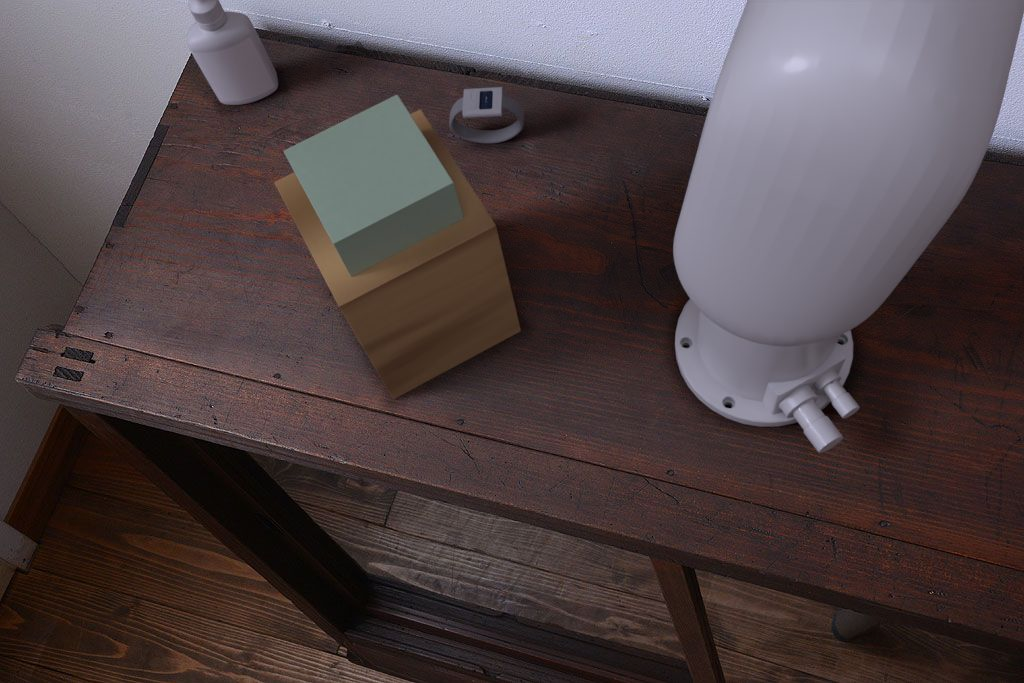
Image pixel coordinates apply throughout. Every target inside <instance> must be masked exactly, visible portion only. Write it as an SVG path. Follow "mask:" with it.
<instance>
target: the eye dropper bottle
mask: <svg viewBox="0 0 1024 683" xmlns="http://www.w3.org/2000/svg"><path fill="white" fill-rule="evenodd" d="M188 9H189V11H190V13H191V15H192V16H193V19H194V20H195V22H194V23H193V24H192V25H191V26H190V27H188V29H187V31H186V42H187V46H188V50H189V52H190V53H191V54H192V57H193V58H194V60H195V62H196V64H197V65H198V67H199V69H200V70H201V72H202V74H203V76H204V77H205V79H206V81H207V83H208V85H209V86H210V88H211V90H212V92H214V94H215V96H216V98H217V99H218V101H219V102H220V103H221V104H223V105H225V106H226V105H227V106H239V105H247V104H251V103H255V102H258V101H261V100H263V99H264V98H266V97H269V96H270V95H272V94H273V93H274V92H276V91H277V90H278V88H279V78H278V74H277V73H278V72H277V71H276V68H275V66H274V64H273V63H272V60H271V58H270V56H269V54H268V52H267V50H266V48H265V46H264V44H263V42H262V40H261V37H260V36H259V34H258V32H257V30H256V28H255V26H254V24H253V22H252V20H251V19H250V18H249V16H248V15H246V14H244V13H242V12H236V11H227V10H226V11H225V10H224V8H223V7H222V4H221V2H220V0H189V3H188Z"/></svg>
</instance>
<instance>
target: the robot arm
mask: <svg viewBox="0 0 1024 683" xmlns="http://www.w3.org/2000/svg"><path fill="white" fill-rule="evenodd" d="M1023 18H1024V0H746V3H745V5H744V8H743V11H742V13H741V15H740V18H739V20H738V21H739V22H738V24H737V27H736V29H735V31H734V34H733V37H732V39H731V42H730V45H729V47H728V50H727V52H726V55H725V58H724V61H723V64H722V67H721V70H720V72H719V75H718V78H717V82H716V84H715V88H714V91H713V93H712V94H713V95H712V97H711V101H710V104H709V106H708V110H707V113H706V117H705V121H704V124H703V126H702V127H703V128H702V131H701V135H700V138H699V143H698V147H697V151H696V154H695V157H694V162H693V165H692V169H691V172H690V176H689V180H688V183H687V187H686V191H685V194H684V198H683V203H682V206H681V209H680V213H679V216H678V221H677V224H676V227H675V232H674V236H673V245H672V249H673V250H672V254H673V255H672V256H673V263H674V266H675V271H676V274H677V277H678V280H679V282H680V285H681V286H682V289H683V290H684V291H685V293H686V295H687V296H688V300H687V302H686V303H685V304H684V306H683V307H682V311H681V312H680V314H679V317H678V320H677V324H676V329H675V336H674V351H675V352H674V353H675V360H676V363H677V366H678V369H679V372H680V375H681V377H682V379H683V380H684V382H685V383H686V386H687V387H688V389H689V390H690V391H691V392H692V393H693V394H694V396H695V397H696V398H697V399H698V400H699V401H700V402H701V403H703V405H705V406H706V407H707V408H709V409H710V410H711V411H713V412H714V413H715V414H716V413H717V414H718V415H720V416H722V417H723V418H726V419H728V420H731V421H733V422H736V423H739V424H742V425H748V426H753V427H759V428H760V427H762V428H764V427H766V428H768V427H769V428H770V427H771V428H772V427H773V428H774V427H783V426H788V425H793V424H796V423H797V424H799V426H800V428H801V429H802V430H803V434H804V435H805V436H806V438H807V439H808V441H809V442H810V444H811V445H812V446H813V448H814V449H815V450H816V452H818V454H823V453H825V452H827V451H829V450H831V449H833V448H834V447H836V446H837V445H838V444H839V443H840V442H841V441H842V440H843V439H844V436H843V435H842V433H841V432H840V430H839V429H838V428H837V427H836V425H835V424H834V423H833V421H832V420H831V419H830V417H829V416H828V415H825V413H824V412H823V410H824V409H825V408H826V407H827V406H828V405H830V404H831V406H832V407H833V408H834V409H835V411H836V412H837V413H838V415H839V416H840V417H841V419H842V420H845V419H847V418H850V417H851V416H853V415H854V414H856V413H857V412H858V411H859V410H860V408H861V406H860V405H859V404H858V402H857V401H856V400H855V399H854V397H853V395H851V393H850V392H849V391H848V392H847V390H846V389H845V388H844V385H845V383H846V380H847V378H848V376H849V374H850V371H851V367H852V364H853V360H854V340H853V334H852V330H853V329H855V328H856V327H858V326H859V325H861V324H862V323H863V322H865V321H866V320H868V319H869V318H870V317H871V316H872V315H873V314H874V313H875V312H876V311H877V310H878V309H879V308H880V307H881V306H882V305H883V303H884V302H885V301H886V300H887V299H888V298H889V296H890V295H891V294H892V293H893V291H894V290H895V289H896V287H897V286H898V285H899V284H900V282H901V281H902V280H903V279H904V277H905V276H906V275H907V274H908V272H910V270H911V269H912V267H913V266H914V265H915V263H916V262H917V261H918V259H919V258H920V257H921V255H922V254H923V253H924V252H925V250H926V249H927V248H928V246H929V245H930V244H931V242H932V241H933V240H934V238H935V237H936V236H937V235H938V234H939V232H940V231H941V229H942V228H943V227H944V226H945V224H946V223H947V222H948V220H949V219H950V217H951V216H952V214H953V213H954V212H955V210H956V209H957V208H958V206H959V205H960V203H961V202H962V200H963V199H964V197H965V196H966V194H967V192H968V190H969V189H970V187H971V185H972V184H973V181H974V179H975V177H976V175H977V173H978V172H979V169H980V168H981V165H982V162H983V160H984V157H985V156H986V153H987V150H988V149H989V145H990V143H991V140H992V137H993V135H994V132H995V128H996V126H997V122H998V119H999V116H1000V113H1001V110H1002V109H1001V108H1002V105H1003V101H1004V97H1005V94H1006V90H1007V84H1008V81H1009V76H1010V72H1011V68H1012V64H1013V60H1014V56H1015V51H1016V47H1017V43H1018V39H1019V34H1020V30H1021V26H1022V22H1023ZM684 346H687V347H684ZM726 405H729V406H730V408H729V407H726Z"/></svg>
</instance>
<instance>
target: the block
mask: <svg viewBox="0 0 1024 683" xmlns="http://www.w3.org/2000/svg"><path fill="white" fill-rule="evenodd" d="M410 114H411V113H410V112H409V110H408V109H407V107H406V105H405V104H404V102H403V100H402V98H400V96H399V95H398V94H394V95H393V96H391V97H389V98H387V99H385V100H383V101H381V102H378V103H377V104H375V105H372V106H370V107H369V108H366V109H365V110H363V111H361V112H359V113H357V114H355V115H352V116H351V117H349V118H347V119H345V120H343V121H340V122H338V123H337V124H334V125H332V126H330V127H328V128H326V129H324V130H322V131H320V132H318V133H316V134H314V135H312V136H310V137H308V138H306V139H304V140H302V141H300V142H298V143H296V144H294V145H292V146H290V147H288V148H285V149H283V153H284V155H285V157H286V159H287V161H288V163H289V164H290V166H291V169H292V171H293V173H294V172H295V174H296V176H297V178H298V180H299V182H300V183H301V185H302V187H303V189H304V191H305V193H306V195H307V196H308V198H309V200H310V202H311V204H312V206H313V208H314V209H315V211H316V213H317V215H318V217H319V219H320V221H321V223H322V224H323V226H324V228H325V230H326V232H327V234H328V236H329V237H330V239H331V241H332V243H333V245H334V247H335V249H336V250H337V252H338V254H339V256H340V258H341V260H342V262H343V263H344V265H345V267H346V269H347V271H348V273H349V275H350V276H351V277H352V276H354V275H356V274H358V273H360V272H362V271H364V270H366V269H368V268H370V267H372V266H374V265H376V264H377V263H379V262H381V261H383V260H385V259H387V258H389V257H391V256H393V255H395V254H397V253H399V252H401V251H403V250H405V249H407V248H408V247H410V246H412V245H414V244H416V243H418V242H420V241H422V240H424V239H426V238H428V237H430V236H432V235H434V234H436V233H437V232H439V231H441V230H443V229H445V228H447V227H449V226H451V225H453V224H455V223H457V222H459V221H461V220H463V219H464V217H463V214H462V210H461V207H460V203H459V200H458V196H457V193H456V189H455V186H454V182H453V181H452V179H451V178H450V176H449V174H448V173H447V171H446V170H445V168H444V167H443V165H442V163H441V162H440V160H439V159H438V157H437V156H436V154H435V152H434V151H433V149H432V148H431V146H430V145H429V143H428V141H427V140H426V138H425V137H424V135H423V134H422V132H421V130H420V129H419V127H418V126H417V124H416V123H415V121H414V119H413V118H412V116H411V115H410Z"/></svg>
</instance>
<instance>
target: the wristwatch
mask: <svg viewBox="0 0 1024 683" xmlns="http://www.w3.org/2000/svg"><path fill="white" fill-rule="evenodd" d="M504 110H506V111H507V112H509V113H511V115H513V116H514V117H515V118H516V121H515V122H514V123H512V124H511V125H508V126H506V127H503V128H500V129H491V130H490V129H489V130H486V129H477V128H472V127H469V126H465V125H463V124H462V123H460V122H459V120H457V119H456V118H457V117H458V116H459V115H460V113H462V119H479V118H480V119H481V118H497V117H503V111H504ZM448 122H449V123H448V126H449V129H450V131H451V132H452V134H453V135H454V136H455V137H458V138H459V139H462V140H464V141H469V142H472V143H476V144H499V143H503V142H507V141H509V140H511V139H513V138H515V137H516V136H518V135H519V134H520V133H521V132H522V131H523V128H524V126H525V112H524V109H523V107H522V106H521V105H520V104H519V103H518V102H517V101H516V100H515V99H513V98H512V97H510V96H508V95H505V94H504V89H503V86H494V87H493V86H492V87H475V88H463V95H462V97H460V98H459V99H457V100H456V101H455V102H454V103H453V105H452V106H451V109H450V112H449V121H448Z"/></svg>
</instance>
